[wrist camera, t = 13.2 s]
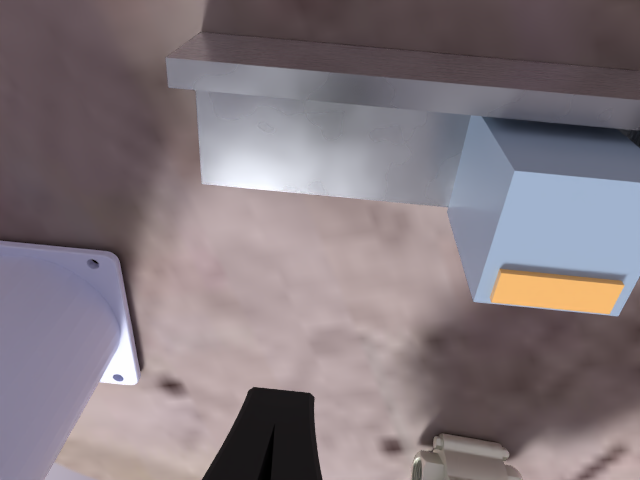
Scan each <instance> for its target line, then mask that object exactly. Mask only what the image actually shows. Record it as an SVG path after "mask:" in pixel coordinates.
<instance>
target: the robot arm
mask: <svg viewBox="0 0 640 480" xmlns="http://www.w3.org/2000/svg"><path fill="white" fill-rule="evenodd" d="M92 259H93V260H96V261H97V262H98V263H99V264H97V263H94V262H93V261H92ZM140 376H141V374H140V368H139V363H138V358H137V352H136V347H135V341H134V336H133V331H132V325H131V320H130V314H129V309H128V304H127V298H126V293H125V287H124V282H123V277H122V271H121V266H120V261H119V259H118V257H117V256H116V255H115V254H113V253H111V252H108V251H101V250H91V249H80V248H70V247H60V246H50V245H39V244H29V243H19V242H9V241H0V480H44V479H45V477H46V476H47V474H48V472H49V470H50V469H51V467H52V465H53V463H54V461H55V460H56V458H57V456H58V454H59V453H60V451H61V449H62V447H63V445H64V444H65V442H66V440H67V438H68V436H69V435H70V433H71V431H72V429H73V428H74V426H75V424H76V422H77V420H78V419H79V417H80V415H81V413H82V412H83V410H84V408H85V406H86V404H87V403H88V401H89V399H90V397H91V396H92V394H93V392H94V390H95V388H96V387H97V385H98V383H99V382H105V383H115V384H124V385H134V384H137V382H138V381H139V379H140ZM314 398H315V397H314V396H313V395H312V394H310V393H305V392H295V391H286V390H277V389H267V388H258V387H253V388H252V389H250V390H249V391H248V394H247V396H246V399H245V401H244V403H243V406H242V408H241V410H240V412H239V414H238V416H237V418H236V420H235V422H234V424H233V426H232V428H231V430H230V432H229V434H228V436H227V438H226V439H225V441H224V443H223V445H222V447H221V448H220V450H219V452H218V454H217V455H216V457H215V459H214V460H213V462H212V464H211V465H210V467H209V469H208V470H207V472H206V474H205V475H204V477H203V479H202V480H322V475H321V470H320V464H319V458H318V451H317V443H316V435H315V423H314Z"/></svg>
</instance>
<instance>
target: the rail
mask: <svg viewBox="0 0 640 480" xmlns="http://www.w3.org/2000/svg"><path fill="white" fill-rule="evenodd" d="M165 58H166V69H167V79H168V88H177V89H188V90H196V105H197V120H198V135H199V150H200V165H201V180H202V184H208V185H219V186H229V187H240V188H250V189H261V190H271V191H282V192H293V193H303V194H314V195H324V196H335V197H345V198H356V199H367V200H377V201H388V202H398V203H409V204H419V205H430V206H440V207H449V203H450V198H451V194H452V190H453V186H454V182H455V178H456V174H457V170H458V166H459V162H460V158H461V154H462V150H463V146H464V142H465V137H466V133H467V129H468V125H469V121H470V117H471V115H474V116H485V117H496V118H506V119H517V120H528V121H539V122H550V123H561V124H572V125H583V126H594V127H605V128H616V129H617V130H619V131H620V132H621V133H622V134H623V135H625V136H626V137H627V138H628V139H630V140H631V141H632V142H633V143H634V144H636V145H637V146H638V147H639V148H640V71H633V70H622V69H611V68H599V67H588V66H577V65H566V64H554V63H543V62H532V61H521V60H510V59H498V58H487V57H476V56H465V55H453V54H442V53H431V52H420V51H408V50H397V49H386V48H375V47H363V46H352V45H341V44H330V43H319V42H307V41H296V40H285V39H274V38H262V37H251V36H240V35H229V34H217V33H206V32H200V33H199V34H197V35H196V36H195V37H193V38H192V39H190V40H189V41H188V42H186V43H185V44H183V45H182V46H181V47H179V48H178V49H177V50H175V51H174V52H172V53H171V54H170V55H168V56H167V57H165Z"/></svg>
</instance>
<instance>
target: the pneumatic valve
mask: <svg viewBox="0 0 640 480" xmlns="http://www.w3.org/2000/svg"><path fill="white" fill-rule="evenodd" d="M433 447H434V448H435V449H434V450H433V452H429V451H423V450H421V451H419V452H418V453H417V454H416V455H415V457H414V460H413V464H412V469H411V480H523V479H522V476H521V474H520V473H519V472H518V470H516V469H515V468H514V467H512V466H510V465H505V464H504V462H503V461H506V460H507V458H509V452H508V451H507V449H506V448H503V447H502V446H501V444H500V443H495V442H490V441H484V440H478V439H472V438H467V437H461V436H455V435H449V434H444V433H441V434H440V435H439V436H435V437H434V440H433Z"/></svg>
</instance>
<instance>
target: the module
mask: <svg viewBox="0 0 640 480" xmlns="http://www.w3.org/2000/svg"><path fill="white" fill-rule="evenodd" d="M447 214H448V217H449V221H450V224H451V227H452V231H453V234H454V238H455V241H456V244H457V248H458V251H459V255H460V258H461V261H462V265H463V268H464V272H465V275H466V278H467V282H468V285H469V289H470V292H471V295H472V299H473V302H479V303H489V304H499V305H509V306H519V307H529V308H539V309H549V310H559V311H569V312H579V313H590V314H600V315H610V316H619V314H620V312H621V310H622V308H623V307H624V305H625V303H626V301H627V299H628V297H629V295H630V293H631V292H632V290H633V288H634V286H635V284H636V282H637V280H638V279H639V277H640V148H639V147H638V146H637V145H636V144H634V143H633V142H632V141H631V140H630V139H628V138H627V137H626V136H625V135H623V134H622V133H621V132H620V131H619V130H617V129H616V128H605V127H594V126H583V125H572V124H561V123H550V122H539V121H528V120H517V119H506V118H496V117H485V116H474V115H471V117H470V121H469V125H468V129H467V133H466V137H465V142H464V146H463V150H462V154H461V158H460V162H459V166H458V170H457V174H456V178H455V182H454V186H453V190H452V194H451V198H450V203H449V207H448V211H447Z"/></svg>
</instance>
